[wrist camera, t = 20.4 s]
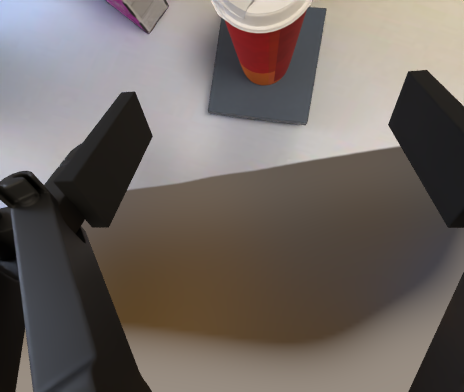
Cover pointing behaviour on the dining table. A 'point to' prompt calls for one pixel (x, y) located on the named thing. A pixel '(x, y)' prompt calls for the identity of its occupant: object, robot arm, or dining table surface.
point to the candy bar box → (141, 11)
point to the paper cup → (263, 34)
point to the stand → (275, 95)
